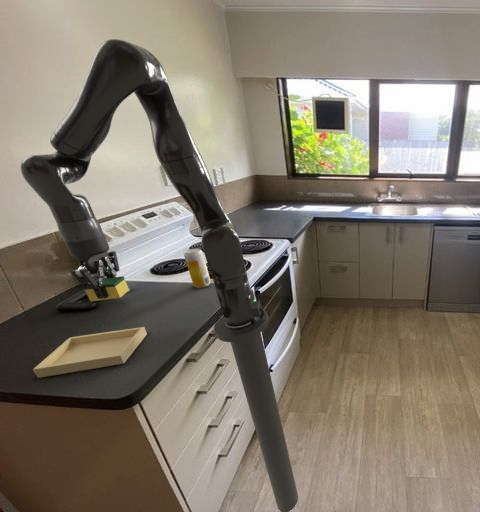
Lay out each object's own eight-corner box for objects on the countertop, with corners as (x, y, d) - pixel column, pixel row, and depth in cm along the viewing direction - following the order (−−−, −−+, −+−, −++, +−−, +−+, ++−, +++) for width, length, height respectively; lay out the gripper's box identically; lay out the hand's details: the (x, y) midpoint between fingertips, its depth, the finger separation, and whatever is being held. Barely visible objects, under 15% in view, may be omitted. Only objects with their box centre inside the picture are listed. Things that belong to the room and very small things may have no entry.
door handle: (139, 278, 117) (96, 278, 116) (99, 305, 99) (47, 305, 97) (141, 285, 119) (99, 285, 117) (102, 313, 100) (51, 314, 99)
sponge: (129, 289, 84) (123, 276, 82) (120, 297, 80) (114, 283, 78) (101, 293, 82) (94, 279, 81) (90, 301, 78) (83, 287, 76)
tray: (147, 334, 88) (144, 326, 86) (124, 363, 76) (120, 355, 75) (73, 345, 83) (69, 337, 82) (37, 378, 72) (32, 369, 71)
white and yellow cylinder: (201, 281, 119) (191, 247, 113) (214, 281, 118) (205, 248, 112) (190, 288, 114) (179, 253, 108) (204, 289, 113) (193, 254, 107)
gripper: (81, 243, 68) (109, 304, 75) (117, 226, 81) (138, 279, 88) (43, 247, 67) (75, 308, 74) (85, 229, 80) (109, 283, 86)
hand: (109, 292), depth 81 cm, fingers closed on sponge, 4 cm apart
